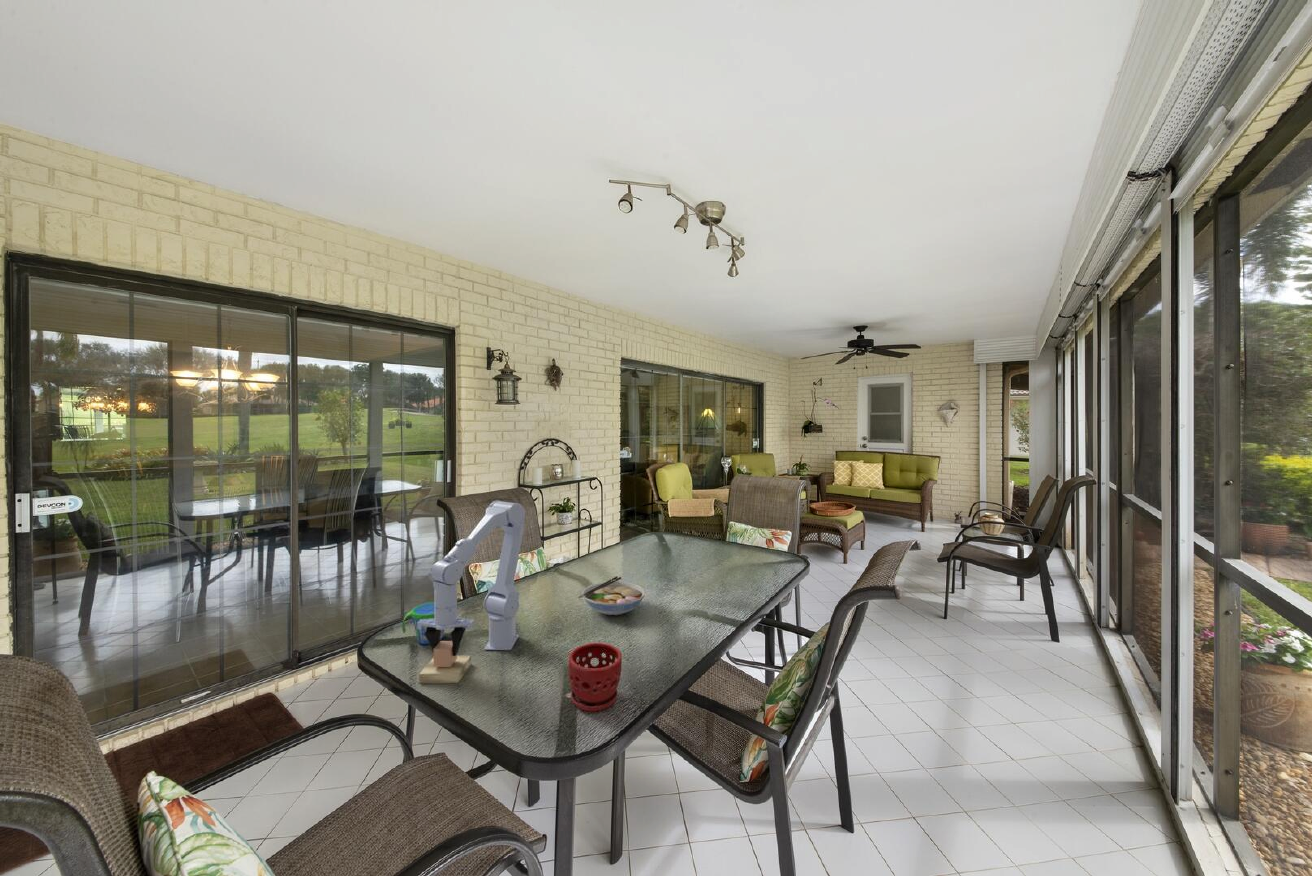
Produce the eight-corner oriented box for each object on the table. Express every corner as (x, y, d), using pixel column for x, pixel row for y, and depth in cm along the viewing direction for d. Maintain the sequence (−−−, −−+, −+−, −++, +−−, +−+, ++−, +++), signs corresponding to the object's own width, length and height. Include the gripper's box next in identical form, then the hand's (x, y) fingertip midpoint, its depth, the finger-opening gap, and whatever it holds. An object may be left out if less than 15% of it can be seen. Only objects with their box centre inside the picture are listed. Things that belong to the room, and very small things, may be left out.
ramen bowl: (619, 631, 161) (619, 607, 161) (566, 616, 173) (566, 593, 173) (658, 607, 183) (658, 585, 182) (609, 594, 195) (609, 574, 194)
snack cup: (398, 650, 147) (398, 616, 146) (407, 634, 157) (407, 603, 157) (454, 644, 151) (454, 612, 150) (459, 630, 161) (459, 599, 160)
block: (440, 658, 136) (440, 640, 136) (457, 658, 136) (456, 641, 136) (433, 666, 131) (433, 648, 131) (450, 667, 132) (450, 648, 131)
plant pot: (557, 705, 120) (557, 657, 120) (592, 681, 131) (592, 637, 131) (597, 724, 113) (598, 673, 112) (631, 697, 124) (632, 651, 123)
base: (435, 663, 139) (435, 655, 139) (471, 663, 139) (471, 655, 139) (419, 683, 129) (419, 673, 129) (457, 683, 129) (457, 673, 129)
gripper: (411, 610, 129) (412, 661, 130) (467, 611, 130) (467, 661, 130) (424, 600, 136) (424, 648, 137) (476, 601, 137) (476, 648, 137)
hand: (445, 654), depth 134 cm, fingers closed on block, 4 cm apart
